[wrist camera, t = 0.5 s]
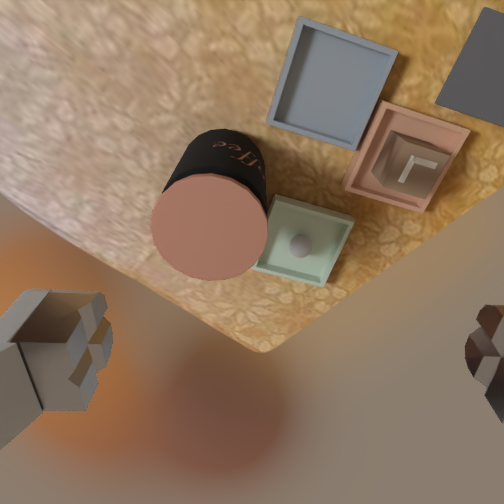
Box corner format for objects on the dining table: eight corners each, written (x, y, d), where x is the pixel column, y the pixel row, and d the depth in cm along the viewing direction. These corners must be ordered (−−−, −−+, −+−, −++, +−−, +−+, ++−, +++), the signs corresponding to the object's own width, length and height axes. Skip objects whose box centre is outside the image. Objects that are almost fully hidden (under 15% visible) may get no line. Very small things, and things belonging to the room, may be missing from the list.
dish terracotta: (378, 98, 45) (384, 101, 43) (462, 126, 47) (470, 130, 45) (340, 184, 51) (344, 190, 49) (416, 206, 52) (422, 213, 50)
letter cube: (390, 129, 47) (406, 141, 42) (431, 142, 47) (450, 156, 42) (370, 171, 49) (383, 187, 44) (409, 183, 50) (425, 200, 45)
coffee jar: (279, 181, 51) (290, 250, 35) (213, 219, 54) (196, 298, 38) (236, 109, 46) (226, 151, 30) (166, 154, 49) (124, 214, 33)
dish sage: (274, 193, 51) (275, 199, 50) (351, 215, 53) (354, 222, 51) (250, 261, 57) (250, 269, 55) (320, 279, 58) (323, 287, 57)
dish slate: (297, 16, 41) (299, 15, 39) (392, 50, 43) (398, 51, 41) (266, 119, 47) (266, 123, 45) (350, 146, 48) (354, 151, 46)
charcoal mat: (483, 7, 40) (486, 7, 40) (563, 38, 42) (567, 38, 41) (434, 103, 45) (436, 103, 45) (507, 128, 47) (510, 129, 46)
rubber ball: (292, 228, 54) (294, 239, 51) (314, 234, 54) (317, 245, 51) (285, 247, 55) (286, 258, 52) (306, 252, 56) (308, 264, 53)
